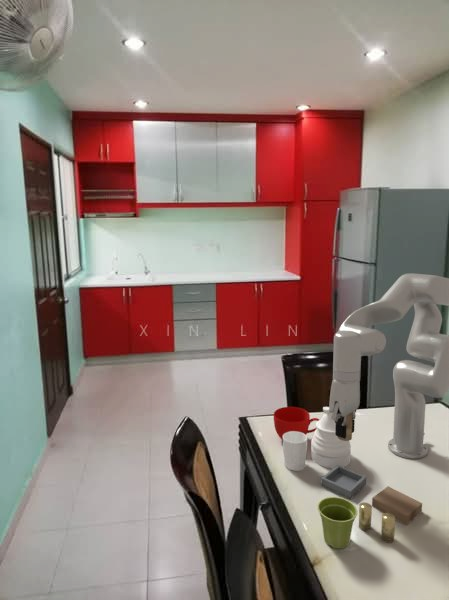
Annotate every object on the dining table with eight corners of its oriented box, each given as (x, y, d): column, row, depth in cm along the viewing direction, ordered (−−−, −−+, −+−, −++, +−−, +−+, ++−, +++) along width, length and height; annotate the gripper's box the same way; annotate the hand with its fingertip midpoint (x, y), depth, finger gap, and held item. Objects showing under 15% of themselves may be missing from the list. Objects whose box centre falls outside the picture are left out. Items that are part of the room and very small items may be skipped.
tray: (337, 472, 134) (337, 464, 133) (366, 484, 127) (366, 476, 127) (321, 485, 127) (321, 478, 127) (350, 499, 120) (350, 491, 120)
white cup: (307, 473, 134) (307, 444, 132) (281, 471, 135) (281, 442, 133) (307, 459, 141) (307, 432, 139) (283, 457, 143) (283, 430, 141)
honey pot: (328, 472, 134) (329, 419, 131) (303, 453, 145) (303, 404, 142) (358, 461, 140) (360, 410, 137) (332, 444, 151) (333, 396, 148)
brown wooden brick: (387, 495, 122) (387, 486, 122) (421, 513, 115) (422, 503, 114) (371, 507, 117) (372, 497, 117) (406, 526, 110) (407, 516, 109)
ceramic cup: (321, 451, 146) (322, 424, 145) (272, 447, 149) (272, 421, 148) (319, 433, 159) (320, 408, 157) (274, 430, 162) (274, 405, 160)
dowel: (341, 432, 127) (342, 407, 126) (354, 437, 124) (355, 411, 123) (335, 437, 124) (335, 412, 123) (347, 442, 122) (348, 416, 120)
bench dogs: (362, 521, 111) (362, 500, 110) (396, 538, 105) (397, 516, 104) (356, 527, 109) (357, 506, 108) (390, 544, 103) (392, 522, 102)
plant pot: (312, 528, 109) (312, 497, 108) (347, 525, 110) (348, 495, 109) (323, 555, 100) (324, 523, 99) (362, 552, 101) (363, 519, 99)
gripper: (348, 364, 129) (347, 420, 133) (319, 379, 118) (318, 440, 121) (372, 369, 124) (370, 428, 127) (343, 385, 113) (342, 449, 116)
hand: (344, 433), depth 124 cm, fingers closed on dowel, 4 cm apart
